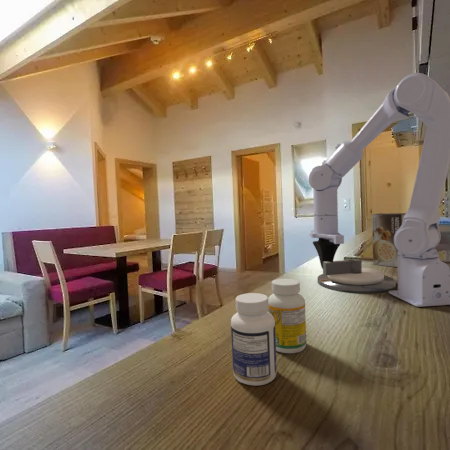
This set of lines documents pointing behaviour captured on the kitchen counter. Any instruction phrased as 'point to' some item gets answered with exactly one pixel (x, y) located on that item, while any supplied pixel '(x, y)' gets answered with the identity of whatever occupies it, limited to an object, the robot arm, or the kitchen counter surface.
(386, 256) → the coffee box
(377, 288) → the dial plate
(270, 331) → the pill bottle
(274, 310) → the supplement bottle
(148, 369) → the kitchen counter surface
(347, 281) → the dial
